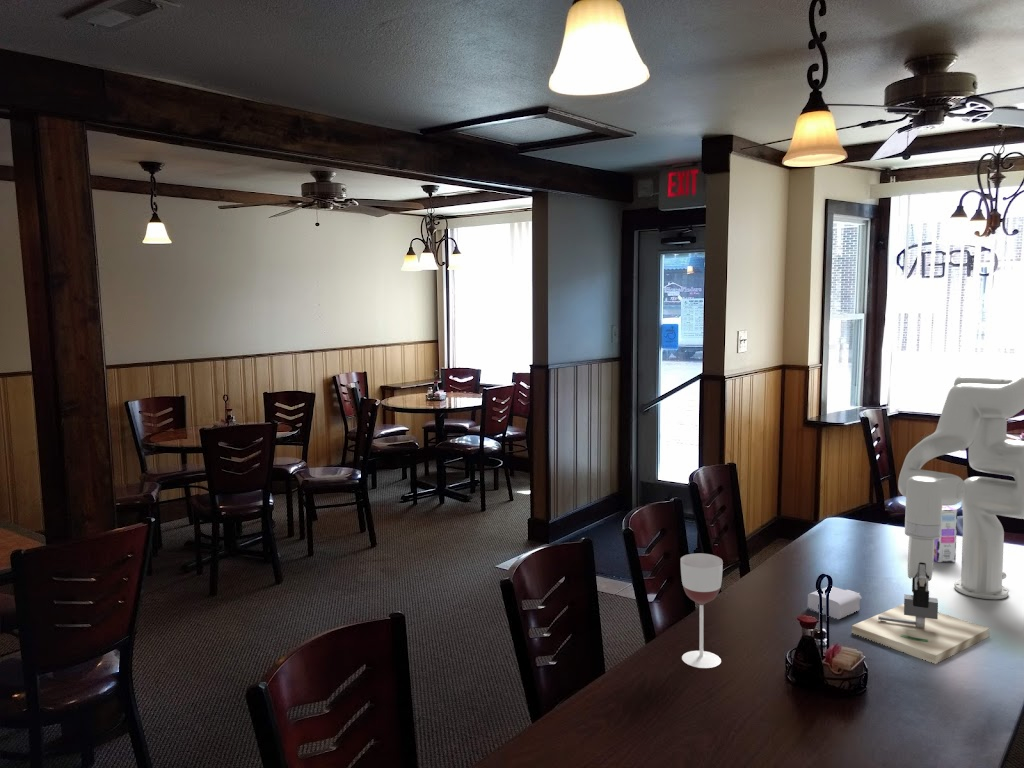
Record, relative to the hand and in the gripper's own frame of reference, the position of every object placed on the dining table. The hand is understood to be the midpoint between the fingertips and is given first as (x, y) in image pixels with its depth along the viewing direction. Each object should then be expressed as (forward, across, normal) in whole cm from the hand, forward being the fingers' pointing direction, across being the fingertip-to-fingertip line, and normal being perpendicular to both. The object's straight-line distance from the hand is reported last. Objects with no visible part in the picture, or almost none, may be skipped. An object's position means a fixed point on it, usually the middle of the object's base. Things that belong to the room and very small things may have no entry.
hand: (920, 599), depth 183 cm
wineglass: (+10, +32, -44) cm, 56 cm away
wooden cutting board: (+9, -1, 0) cm, 9 cm away
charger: (+9, -11, -18) cm, 23 cm away
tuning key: (+7, -1, -2) cm, 7 cm away
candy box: (+8, -67, +6) cm, 67 cm away
